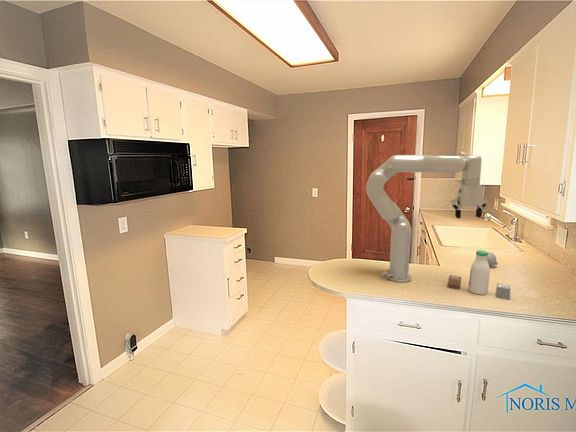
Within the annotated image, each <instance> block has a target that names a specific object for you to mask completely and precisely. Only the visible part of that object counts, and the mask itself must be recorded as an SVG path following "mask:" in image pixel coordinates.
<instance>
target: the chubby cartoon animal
mask: <svg viewBox="0 0 576 432" xmlns="http://www.w3.org/2000/svg"><path fill="white" fill-rule="evenodd" d="M487 252H488V257H487V262H488V264H489V267H490V269H492V268H495V266H498V265H499V262H498V261H497V256H496V255H495V254H494V253H493V252H490V251H487Z"/></svg>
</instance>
